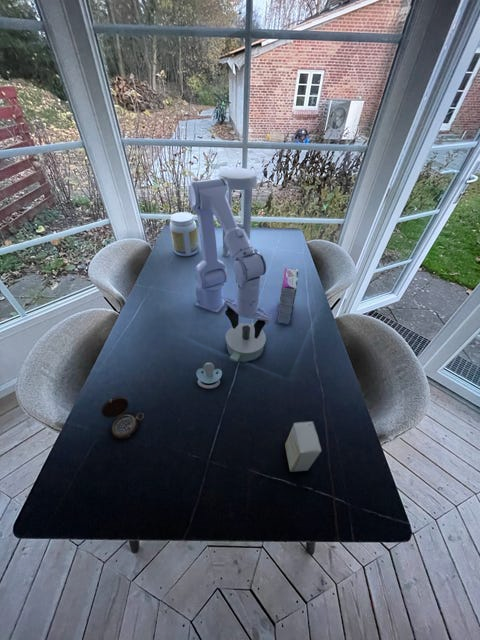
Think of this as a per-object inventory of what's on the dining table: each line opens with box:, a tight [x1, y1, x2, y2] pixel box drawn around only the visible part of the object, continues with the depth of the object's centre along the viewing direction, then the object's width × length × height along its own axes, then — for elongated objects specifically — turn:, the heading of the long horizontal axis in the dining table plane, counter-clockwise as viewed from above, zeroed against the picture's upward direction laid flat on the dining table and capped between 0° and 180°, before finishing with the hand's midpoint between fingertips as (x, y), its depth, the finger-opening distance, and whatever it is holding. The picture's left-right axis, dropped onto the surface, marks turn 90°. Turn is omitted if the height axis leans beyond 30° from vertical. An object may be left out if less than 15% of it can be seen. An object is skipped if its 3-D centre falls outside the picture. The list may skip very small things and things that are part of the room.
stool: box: [217, 167, 258, 257], centre depth 118 cm, size 16×16×35 cm
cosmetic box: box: [284, 421, 322, 473], centre depth 58 cm, size 6×4×12 cm
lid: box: [225, 322, 267, 354], centre depth 81 cm, size 13×13×5 cm
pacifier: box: [196, 362, 223, 389], centre depth 74 cm, size 7×6×6 cm
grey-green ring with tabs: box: [226, 321, 265, 363], centre depth 84 cm, size 12×17×4 cm
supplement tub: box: [169, 211, 200, 257], centre depth 124 cm, size 12×12×17 cm
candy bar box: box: [276, 267, 299, 325], centre depth 92 cm, size 11×5×16 cm, turn 168°
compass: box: [100, 396, 145, 440], centre depth 64 cm, size 8×8×7 cm
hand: (246, 331), depth 81 cm, fingers open, 7 cm apart
